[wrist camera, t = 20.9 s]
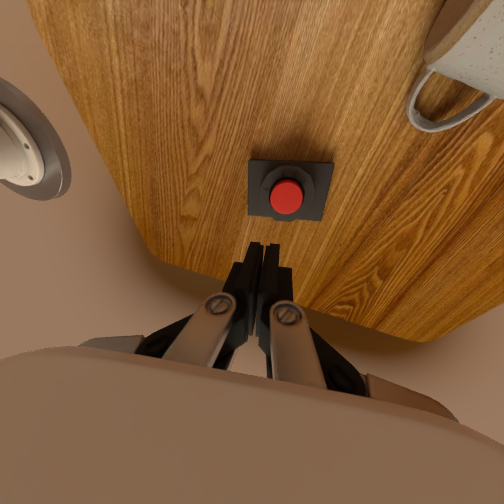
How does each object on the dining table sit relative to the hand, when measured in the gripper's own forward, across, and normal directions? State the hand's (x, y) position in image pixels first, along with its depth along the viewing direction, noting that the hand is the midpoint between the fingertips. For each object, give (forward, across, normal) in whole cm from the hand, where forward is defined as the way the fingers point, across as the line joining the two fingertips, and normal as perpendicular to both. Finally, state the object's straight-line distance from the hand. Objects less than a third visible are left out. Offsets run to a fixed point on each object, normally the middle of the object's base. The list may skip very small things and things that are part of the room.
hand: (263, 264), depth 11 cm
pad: (+16, -1, -1) cm, 17 cm away
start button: (+14, -1, -1) cm, 14 cm away
